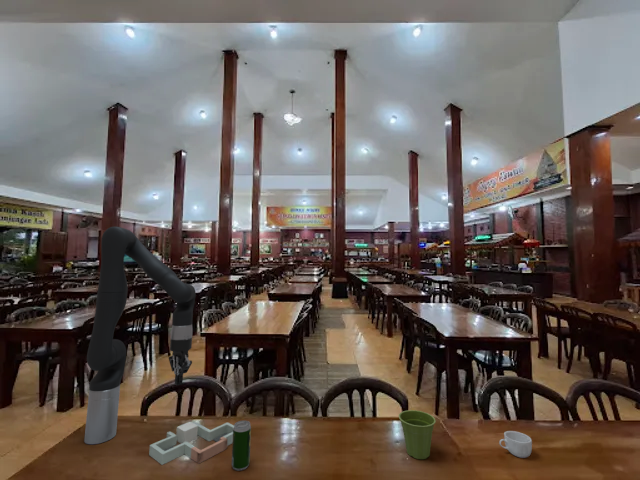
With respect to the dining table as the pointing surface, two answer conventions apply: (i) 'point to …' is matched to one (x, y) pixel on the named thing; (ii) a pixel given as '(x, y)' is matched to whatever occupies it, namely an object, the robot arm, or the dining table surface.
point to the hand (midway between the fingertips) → (178, 384)
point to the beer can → (241, 445)
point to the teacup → (517, 443)
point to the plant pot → (417, 432)
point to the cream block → (187, 432)
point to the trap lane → (167, 452)
